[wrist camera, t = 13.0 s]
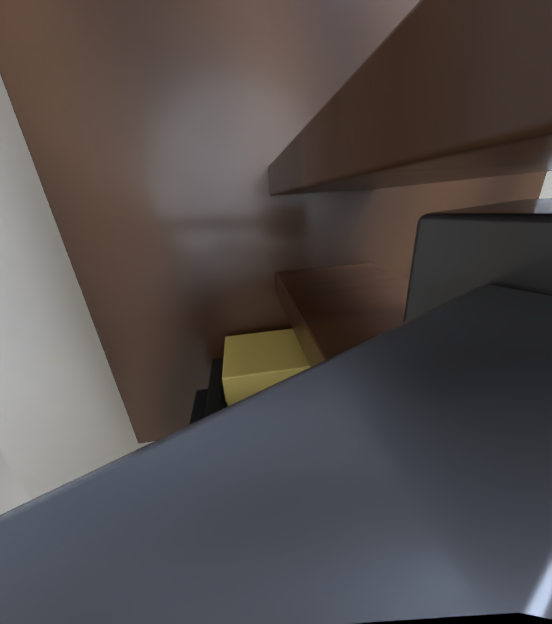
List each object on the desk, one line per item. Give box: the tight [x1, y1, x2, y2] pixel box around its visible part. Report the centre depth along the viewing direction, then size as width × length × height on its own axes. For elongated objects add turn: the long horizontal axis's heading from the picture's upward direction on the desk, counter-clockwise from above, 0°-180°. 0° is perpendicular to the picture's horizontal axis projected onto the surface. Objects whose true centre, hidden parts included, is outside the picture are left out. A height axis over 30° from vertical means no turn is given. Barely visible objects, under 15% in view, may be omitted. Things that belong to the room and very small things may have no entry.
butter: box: [222, 329, 310, 406], centre depth 11 cm, size 5×3×3 cm
